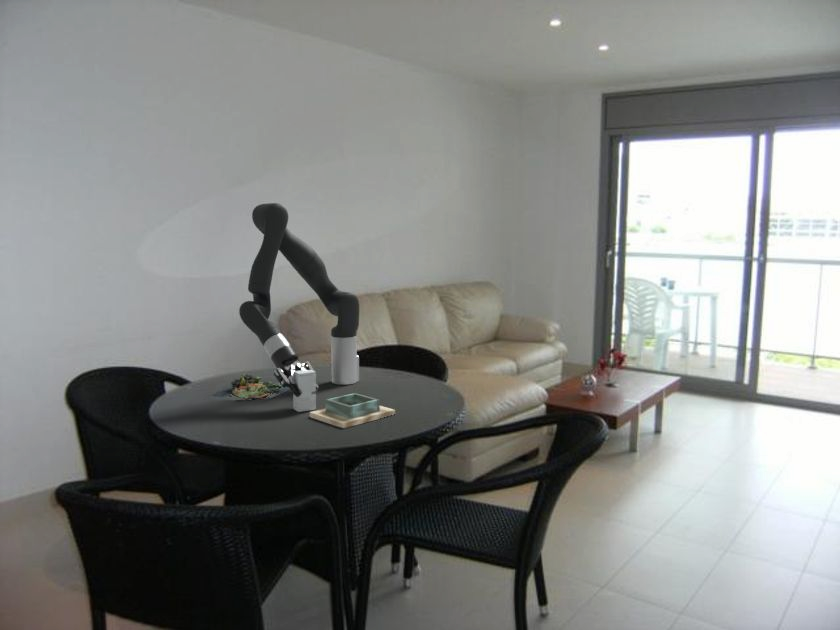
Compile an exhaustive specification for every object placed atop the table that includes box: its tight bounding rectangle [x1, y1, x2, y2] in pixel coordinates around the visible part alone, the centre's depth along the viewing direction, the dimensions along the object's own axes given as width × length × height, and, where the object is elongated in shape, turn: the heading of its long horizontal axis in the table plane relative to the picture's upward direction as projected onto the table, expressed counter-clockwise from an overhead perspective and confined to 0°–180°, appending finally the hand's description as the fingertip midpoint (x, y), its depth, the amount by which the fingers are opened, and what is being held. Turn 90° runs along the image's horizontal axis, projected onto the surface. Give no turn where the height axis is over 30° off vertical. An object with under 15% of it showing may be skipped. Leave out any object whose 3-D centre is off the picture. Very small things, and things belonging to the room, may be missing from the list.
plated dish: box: [210, 372, 291, 400], centre depth 229 cm, size 35×28×7 cm
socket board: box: [309, 392, 396, 429], centre depth 200 cm, size 20×16×5 cm
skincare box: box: [292, 370, 317, 413], centre depth 206 cm, size 6×4×12 cm
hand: (308, 392), depth 205 cm, fingers closed on skincare box, 7 cm apart
